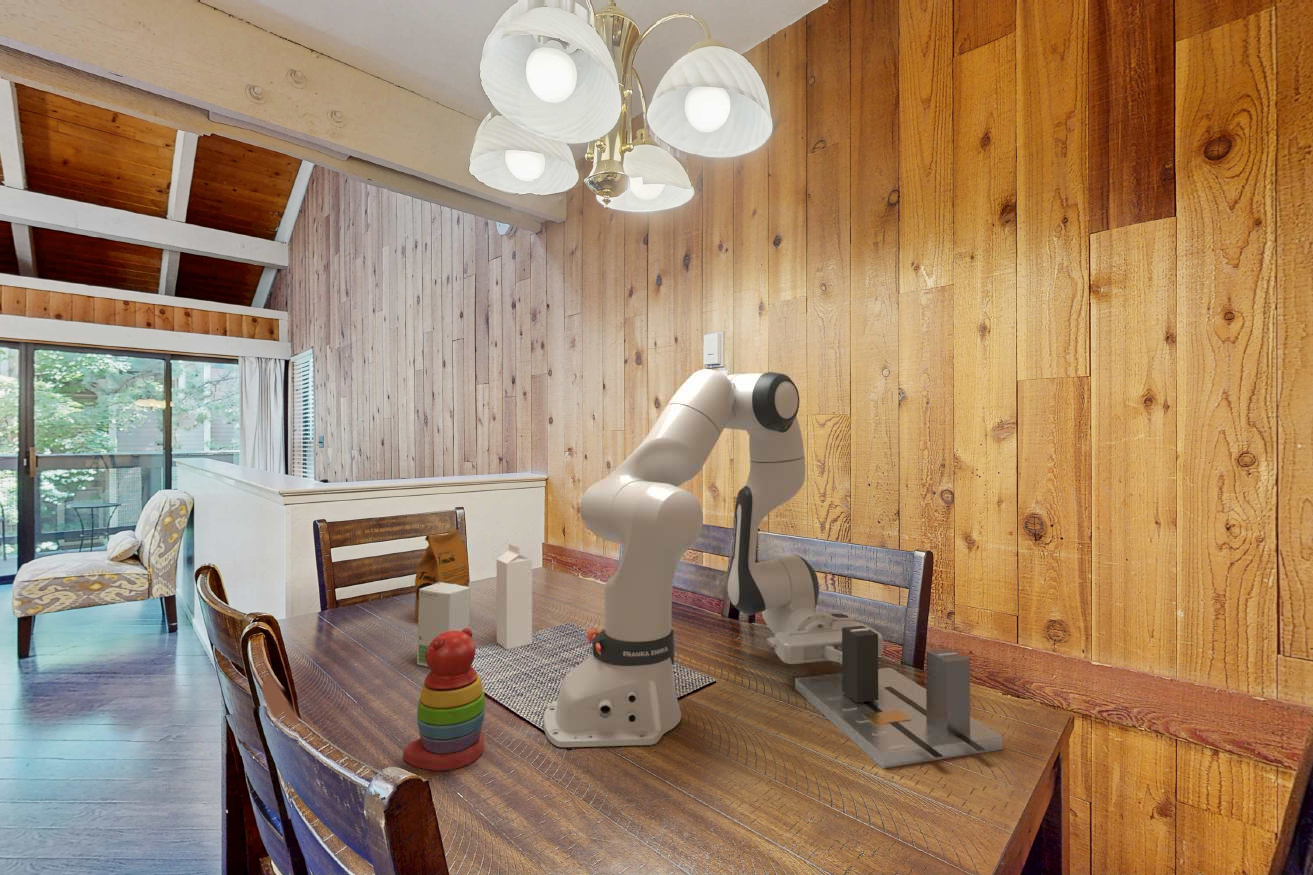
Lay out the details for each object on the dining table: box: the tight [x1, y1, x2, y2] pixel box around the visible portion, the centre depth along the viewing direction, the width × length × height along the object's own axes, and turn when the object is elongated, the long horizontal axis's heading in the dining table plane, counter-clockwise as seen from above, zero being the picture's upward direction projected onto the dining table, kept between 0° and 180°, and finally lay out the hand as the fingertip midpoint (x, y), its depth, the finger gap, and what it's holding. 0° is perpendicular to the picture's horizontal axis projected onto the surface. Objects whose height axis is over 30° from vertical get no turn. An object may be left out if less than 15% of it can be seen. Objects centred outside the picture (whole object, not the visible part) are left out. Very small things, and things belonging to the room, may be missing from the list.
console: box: [794, 648, 1003, 769], centre depth 94 cm, size 20×28×13 cm
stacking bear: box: [403, 627, 486, 771], centre depth 84 cm, size 11×10×18 cm
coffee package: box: [414, 529, 470, 623], centre depth 147 cm, size 10×12×22 cm
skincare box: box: [416, 582, 471, 668], centre depth 118 cm, size 8×7×16 cm
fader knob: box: [841, 626, 879, 703], centre depth 97 cm, size 4×4×11 cm
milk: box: [496, 543, 533, 651], centre depth 129 cm, size 6×6×22 cm
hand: (852, 660), depth 100 cm, fingers closed, pressing on fader knob
